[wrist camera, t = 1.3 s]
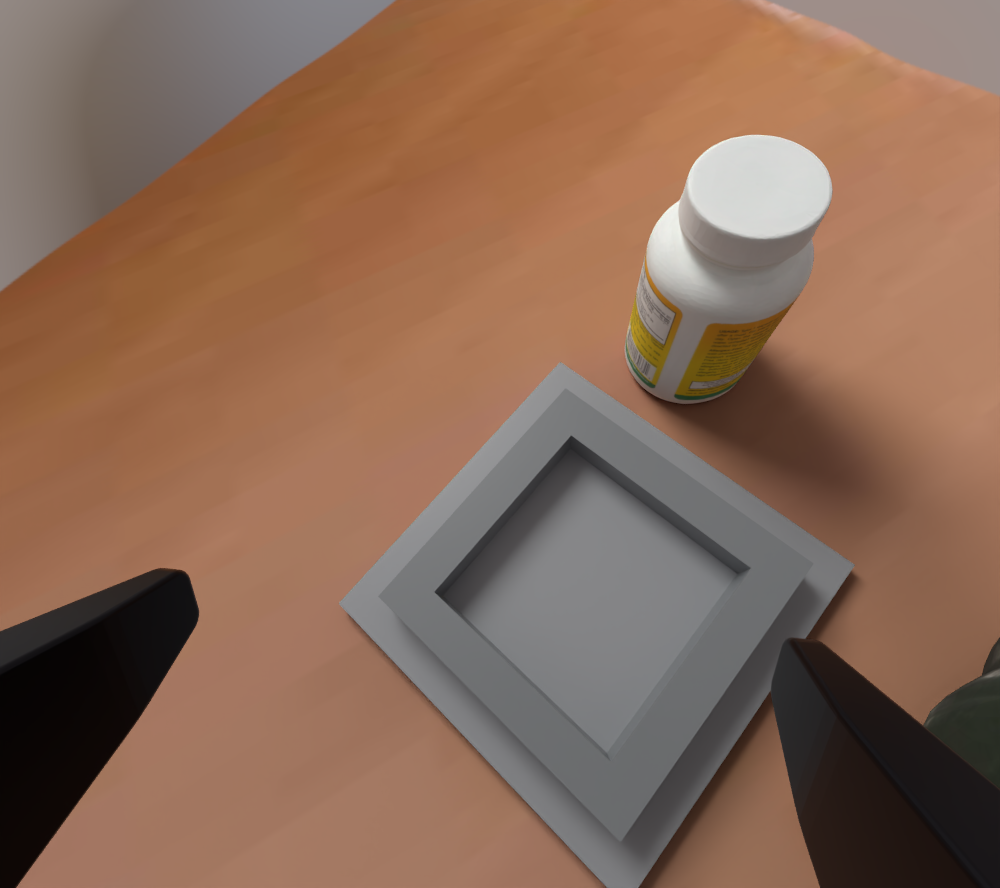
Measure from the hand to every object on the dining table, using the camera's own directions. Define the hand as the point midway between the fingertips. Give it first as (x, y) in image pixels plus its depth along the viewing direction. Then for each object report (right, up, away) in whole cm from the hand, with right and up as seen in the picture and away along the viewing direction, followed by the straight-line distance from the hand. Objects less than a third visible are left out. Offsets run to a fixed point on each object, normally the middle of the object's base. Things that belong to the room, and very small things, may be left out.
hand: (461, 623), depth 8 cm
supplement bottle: (+9, +7, +16) cm, 20 cm away
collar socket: (+4, -3, +13) cm, 14 cm away
